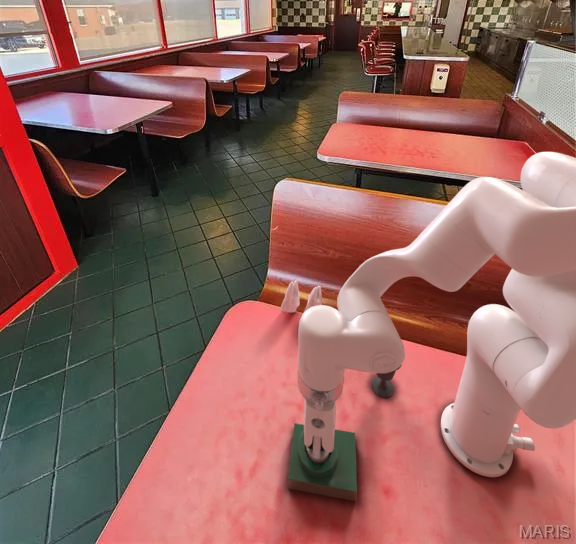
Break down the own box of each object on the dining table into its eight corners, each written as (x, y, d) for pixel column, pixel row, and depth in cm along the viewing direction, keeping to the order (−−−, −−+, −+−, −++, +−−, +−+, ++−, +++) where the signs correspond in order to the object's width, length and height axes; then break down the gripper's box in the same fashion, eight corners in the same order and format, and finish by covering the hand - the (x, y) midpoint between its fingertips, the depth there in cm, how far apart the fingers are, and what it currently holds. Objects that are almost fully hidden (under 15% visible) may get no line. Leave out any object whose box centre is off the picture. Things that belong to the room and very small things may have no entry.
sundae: (399, 404, 72) (407, 356, 67) (368, 398, 73) (373, 350, 68) (396, 375, 78) (403, 329, 73) (367, 370, 79) (372, 324, 74)
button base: (353, 441, 66) (355, 426, 64) (355, 501, 57) (357, 485, 56) (294, 432, 67) (294, 416, 66) (288, 488, 59) (287, 472, 57)
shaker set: (279, 316, 95) (279, 285, 91) (281, 304, 99) (281, 275, 95) (321, 319, 94) (322, 289, 90) (321, 308, 97) (322, 278, 93)
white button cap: (330, 439, 63) (330, 433, 62) (329, 468, 59) (329, 461, 58) (307, 436, 64) (307, 429, 63) (305, 463, 59) (305, 457, 59)
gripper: (344, 431, 46) (337, 502, 53) (343, 339, 60) (337, 405, 67) (291, 422, 47) (291, 493, 54) (302, 334, 61) (301, 399, 68)
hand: (317, 444), depth 60 cm, fingers closed
